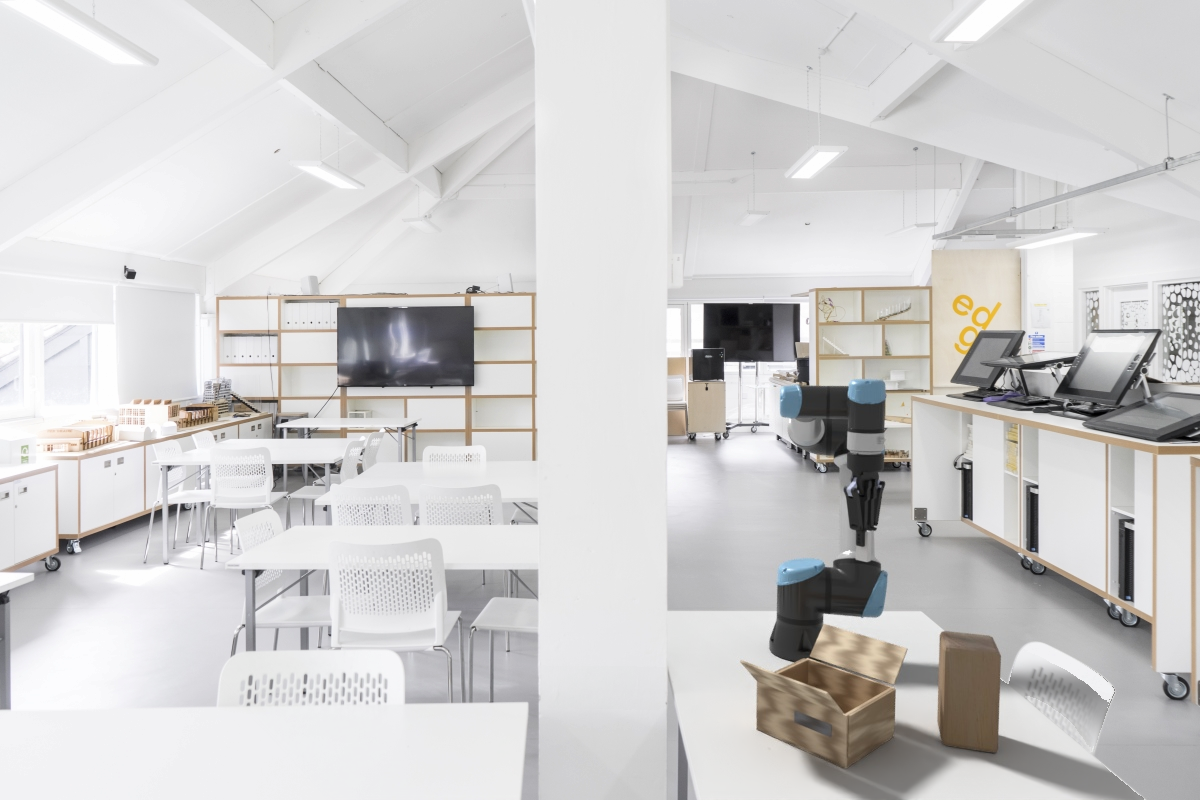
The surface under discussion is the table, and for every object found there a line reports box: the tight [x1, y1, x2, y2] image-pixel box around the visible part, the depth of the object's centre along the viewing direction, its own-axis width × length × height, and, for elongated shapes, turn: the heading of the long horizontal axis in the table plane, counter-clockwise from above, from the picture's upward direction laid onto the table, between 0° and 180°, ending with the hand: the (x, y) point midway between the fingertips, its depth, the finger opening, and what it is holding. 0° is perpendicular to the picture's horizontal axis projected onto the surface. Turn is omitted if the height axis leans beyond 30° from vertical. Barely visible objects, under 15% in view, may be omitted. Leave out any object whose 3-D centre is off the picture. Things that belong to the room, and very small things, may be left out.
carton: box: [755, 658, 897, 770], centre depth 154 cm, size 21×18×10 cm
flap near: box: [739, 659, 844, 715], centre depth 146 cm, size 19×1×8 cm
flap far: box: [810, 623, 908, 686], centre depth 162 cm, size 19×1×8 cm
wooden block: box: [936, 630, 1002, 754], centre depth 152 cm, size 10×10×20 cm
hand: (863, 560), depth 166 cm, fingers closed
